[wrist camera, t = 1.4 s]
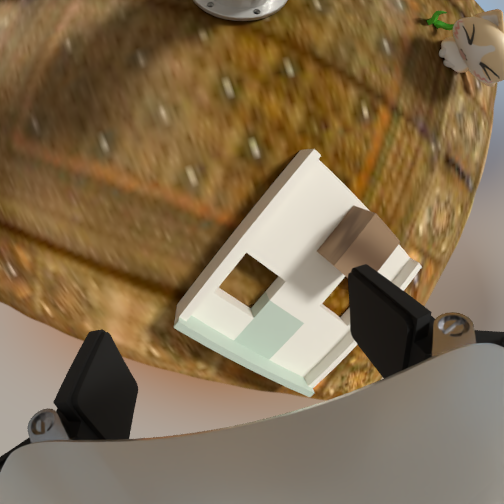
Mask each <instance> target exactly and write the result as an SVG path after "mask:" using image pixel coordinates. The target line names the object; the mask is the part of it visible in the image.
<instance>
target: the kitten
mask: <svg viewBox="0 0 504 504" xmlns="http://www.w3.org/2000/svg"><path fill="white" fill-rule="evenodd" d="M443 13H447V12H444V11H436V12H435V13H434V14H433V16H432V18H430V19H429V20H427V23H428V25H431V24H434V26H436V27H437V29H438V28H443V29H446V30H452V29H453V36H454V37H448V38H446V39H444V40H443V41H442V43H441V50H440V51H439V56H440V57H442V58H445V60H444V62H443V63H444V65H445V66H447V67H450V68H452V69H453V70H454V71H456V72H458V73H464V72H467V71H470V72H471V73H472V74H473V75H474V76H475V77H476V78H477V79H479V80H480V81H481V82H483V83H484V84H485V85H487V86H490V87H492V86H494V85H495V83H496V82H499V81H502V80H504V21H503V12H502V11H501V10H499V9H495V10H491V11H487V12H482V13H478V14H476V15H475V16H474V17H467V18H462V19H460V20H458V21H456V22H455V24H446V23H444V22H442V21H439V20H437V19H438V16H439V15H440V14H443Z"/></svg>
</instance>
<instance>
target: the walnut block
mask: <svg viewBox="0 0 504 504" xmlns="http://www.w3.org/2000/svg"><path fill="white" fill-rule="evenodd" d="M399 243H400V241H399V240H398V238H397V237H396V236H395V235H394V234H393V232H392V231H391V230H390V229H389V228H388V227H387V226H386V224H385V223H384V222H383V221H382V220H381V219H380V218H379V216H378V215H377V214H376V213H373V212H371V211H368V210H365V209H362V208H359V207H357V206H354V205H353V206H352V208H351V209H350V210H349V211H348V213H347V214H346V215H345V217H344V218H343V219H342V220H341V222H340V223H339V224H338V225H337V227H336V228H335V229H334V230H333V232H332V233H331V234H330V235H329V236H328V238H327V239H326V240H325V241H324V243H323V244H322V245H321V246H320V247H319V249H318V250H317V252H318V253H319V254H320V255H322V256H323V257H324V258H325V259H326V260H327V261H329V262H330V263H331V264H332V265H333V266H334V267H335V268H337V269H338V270H339V271H340V272H341V273H342V274H344V275H345V276H346V277H347V278H348V274H349V273H351V271H352V268H354V267H358V266H361V265H364V264H367V265H369V266H370V267H372V268H373V269H374V270H376V271H377V272H378V270H379V269H380V268H381V267H382V265H383V264H384V263H385V262H386V260H387V259H388V258H389V256H390V255H391V254H392V253H393V251H394V250H395V249H396V247H397V246H398V245H399Z"/></svg>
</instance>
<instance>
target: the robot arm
mask: <svg viewBox="0 0 504 504" xmlns="http://www.w3.org/2000/svg"><path fill="white" fill-rule="evenodd" d="M193 1H194V3H195V4H196V5H197V6H198V7H199V8H201V9H202V10H204V11H205V12H207V13H209V14H211V15H213V16H215V17H219V18H222V19H226V20H233V21H251V20H258V19H262V18H266V17H268V16H270V15H273V14H274V13H276V12H277V11H279V10H280V9H281V8H282V7H283V6H284V5H285V3H286V2H287V0H193ZM348 285H349V304H350V331H351V335H352V337H353V339H354V340H355V342H356V343H357V344H358V345H359V347H360V348H361V349H362V351H363V352H364V353H365V354H366V356H367V357H368V358H369V360H370V361H371V362H372V363H373V365H374V366H375V367H376V369H377V370H378V371H379V373H380V374H381V375H382V377H383V378H384V379H382V380H380V381H377V382H375V383H372V384H370V385H367V386H365V387H362V388H360V389H357V390H355V391H352V392H349V393H347V394H344V395H341V396H339V397H336V398H333V399H330V400H327V401H324V402H321V403H318V404H315V405H312V406H309V407H306V408H302V409H299V410H296V411H292V412H289V413H285V414H282V415H278V416H274V417H270V418H266V419H262V420H258V421H254V422H249V423H245V424H241V425H235V426H231V427H226V428H220V429H214V430H209V431H202V432H197V433H190V434H181V435H173V436H164V437H153V438H140V439H129V436H130V430H131V424H132V419H133V413H134V408H135V403H136V398H137V393H138V386H137V383H136V381H135V379H134V378H133V376H132V374H131V373H130V371H129V369H128V367H127V365H126V364H125V362H124V360H123V358H122V356H121V354H120V353H119V351H118V349H117V347H116V345H115V343H114V341H113V339H112V337H111V335H110V334H109V333H108V332H105V331H104V330H97V331H91V332H89V333H88V335H87V337H86V339H85V341H84V343H83V344H82V346H81V348H80V350H79V352H78V354H77V356H76V357H75V359H74V361H73V363H72V365H71V367H70V369H69V371H68V373H67V375H66V377H65V379H64V381H63V383H62V385H61V387H60V389H59V392H58V394H57V396H56V398H55V400H54V404H55V405H56V406H57V408H58V409H57V411H55V410H53V409H43V410H41V411H39V412H37V413H36V414H35V415H34V416H33V417H32V418H31V420H30V421H29V424H28V434H29V438H28V439H27V440H25V441H24V442H22V443H20V444H19V445H18V446H16V447H15V448H13V449H12V450H10V451H9V452H7V453H6V454H4V455H2V456H1V457H0V504H504V332H492V331H478V330H474V325H473V322H472V321H471V320H470V319H469V318H468V317H466V316H465V315H463V314H460V313H453V312H452V313H445V314H442V315H440V316H438V317H437V318H436V319H434V318H433V317H432V316H431V312H430V311H429V310H428V309H426V308H425V307H424V306H423V305H421V304H420V303H419V302H417V301H416V300H415V299H413V298H412V297H411V296H410V295H408V294H407V293H406V292H404V291H403V290H402V289H400V288H399V287H398V286H396V285H395V284H393V283H392V282H391V281H389V280H388V279H387V278H385V277H384V276H383V275H381V274H380V273H378V272H377V271H376V270H374V269H373V268H372V267H370V266H369V265H367V264H364V265H361V266H358V267H354V268H352V271H351V273H349V274H348Z"/></svg>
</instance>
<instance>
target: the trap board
mask: <svg viewBox="0 0 504 504" xmlns="http://www.w3.org/2000/svg"><path fill="white" fill-rule="evenodd" d="M320 156H321V155H320V154H319V153H318V152H317V151H316V150H315V149H307V150H300V151H299V152H298V154H297V155H296V156H295V157H294V158H293V160H292V161H291V162H290V163H289V164H288V166H287V167H286V168H285V169H284V170H283V172H282V173H281V174H280V175H279V176H278V178H277V179H276V180H275V181H274V183H273V184H272V185H271V186H270V187H269V189H268V190H267V191H266V192H265V194H264V195H263V196H262V197H261V198H260V200H259V201H258V202H257V203H256V205H255V206H254V207H253V208H252V210H251V211H250V212H249V213H248V215H247V216H246V217H245V218H244V220H243V221H242V222H241V223H240V225H239V226H238V227H237V228H236V230H235V231H234V232H233V233H232V235H231V236H230V237H229V238H228V240H227V241H226V242H225V243H224V245H223V246H222V247H221V248H220V250H219V251H218V252H217V254H216V255H215V256H214V257H213V259H212V260H211V261H210V262H209V264H208V265H207V266H206V268H205V269H204V270H203V271H202V273H201V274H200V275H199V277H198V278H197V279H196V281H195V282H194V283H193V284H192V286H191V287H190V288H189V290H188V291H187V292H186V294H185V295H184V296H183V297H182V299H181V300H180V301H179V303H178V304H177V309H176V315H175V322H174V328H175V329H177V330H178V331H180V332H182V333H183V334H185V335H187V336H189V337H190V338H192V339H194V340H195V341H197V342H199V343H201V344H203V345H204V346H206V347H208V348H210V349H212V350H213V351H215V352H217V353H219V354H221V355H223V356H224V357H226V358H228V359H230V360H232V361H234V362H236V363H238V364H240V365H242V366H244V367H246V368H248V369H250V370H252V371H254V372H256V373H258V374H260V375H262V376H264V377H266V378H268V379H270V380H272V381H275V382H277V383H279V384H281V385H283V386H285V387H288V388H290V389H292V390H294V391H297V392H299V393H301V394H304V395H306V396H308V397H311V396H312V395H313V394H314V393H315V392H314V390H313V388H314V387H315V386H316V385H317V384H318V383H319V382H320V381H321V380H322V379H323V378H324V377H325V376H326V375H327V374H328V373H330V372H331V371H332V370H333V369H334V368H335V367H336V366H337V365H338V364H339V363H340V362H341V361H342V360H343V359H344V358H345V357H346V356H347V355H348V354H349V353H350V351H351V350H352V349H353V348H354V347H355V346H356V345H357V343H356V342H355V340H354V339H353V337H352V335H351V331H350V307H349V308H348V309H347V310H346V312H345V313H344V314H343V315H342V316H341V317H339V316H338V315H336V314H335V313H333V312H332V311H331V310H329V309H328V308H327V307H325V306H324V305H323V304H322V303H323V302H324V301H325V299H326V298H327V297H328V296H329V295H330V294H331V293H332V291H333V290H334V289H335V288H336V287H337V286H338V284H339V283H340V282H341V281H342V280H343V278H344V277H345V275H344V274H342V273H341V272H340V271H339V270H338V269H337V268H335V267H334V266H333V265H332V264H331V263H330V262H329V261H327V260H326V259H325V258H324V257H323V256H322V255H320V254H319V253H318V252H317V250H318V249H319V247H320V246H321V245H322V244H323V243H324V241H325V240H326V239H327V238H328V236H329V235H330V234H331V233H332V232H333V230H334V229H335V228H336V227H337V225H338V224H339V223H340V222H341V220H342V219H343V218H344V217H345V215H346V214H347V213H348V211H349V210H350V209H351V208H352V206H353V205H354V206H357V207H359V208H362V209H365V210H368V209H367V208H366V207H365V206H364V204H363V203H362V202H361V201H360V200H359V199H358V198H357V197H356V196H355V195H354V194H353V193H352V192H351V191H350V190H349V189H348V188H347V187H346V186H345V185H344V184H343V183H342V182H341V181H340V180H339V179H338V178H337V177H336V176H335V175H334V174H333V173H332V172H331V171H330V170H329V169H328V168H327V167H326V166H325V165H324V164H323V163H322V162H321V161H320V160H319V157H320ZM368 211H369V210H368ZM246 252H247V253H248V254H249V255H251V256H252V257H253V258H255V259H256V260H257V261H259V262H260V263H261V264H263V265H264V266H266V267H267V268H268V269H270V270H271V271H272V272H274V273H275V274H277V275H278V277H277V279H276V280H275V281H274V282H273V283H272V284H271V286H270V287H269V288H268V289H267V290H266V291H265V293H264V294H263V295H262V296H261V297H260V298H259V300H258V301H257V302H256V303H255V304H254V305H253V306H252V308H249V307H248V306H246V305H245V304H243V303H241V302H240V301H238V300H237V299H235V298H234V297H232V296H231V295H229V294H228V293H226V292H225V291H223V290H222V289H220V288H219V286H220V284H221V283H222V282H223V281H224V279H225V278H226V277H227V276H228V275H229V273H230V272H231V271H232V270H233V268H234V267H235V266H236V265H237V263H238V262H239V261H240V260H241V259H242V257H243V256H244V255H245V254H246ZM421 267H422V266H421V265H420V264H419V263H418V262H416V261H415V260H413V259H411V258H410V257H409V256H408V255H407V253H406V252H405V251H404V250H403V249H402V247H401V246H400V245H398V246H397V247H396V249H395V250H394V251H393V253H392V254H391V255H390V256H389V258H388V259H387V260H386V262H385V263H384V264H383V265H382V267H381V268H380V269H379V270H378V273H380V274H381V275H383V276H384V277H385V278H387V279H388V280H389V281H391V282H392V283H393V284H395V285H396V286H398V287H399V288H400V289H402V290H403V291H404V290H405V288H406V287H407V286H408V285H409V283H410V282H411V281H412V279H413V278H414V277H415V275H416V274H417V273H418V271H419V270H420V269H421Z"/></svg>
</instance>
